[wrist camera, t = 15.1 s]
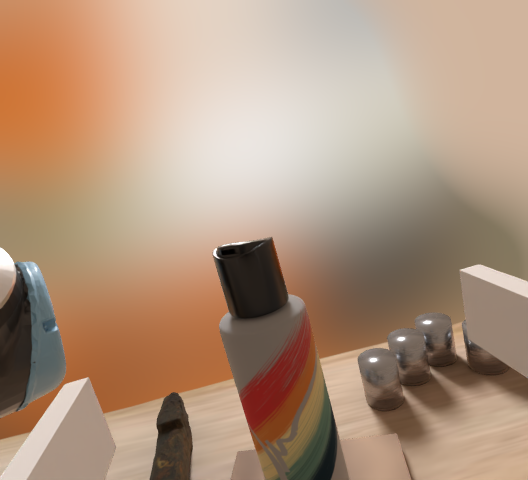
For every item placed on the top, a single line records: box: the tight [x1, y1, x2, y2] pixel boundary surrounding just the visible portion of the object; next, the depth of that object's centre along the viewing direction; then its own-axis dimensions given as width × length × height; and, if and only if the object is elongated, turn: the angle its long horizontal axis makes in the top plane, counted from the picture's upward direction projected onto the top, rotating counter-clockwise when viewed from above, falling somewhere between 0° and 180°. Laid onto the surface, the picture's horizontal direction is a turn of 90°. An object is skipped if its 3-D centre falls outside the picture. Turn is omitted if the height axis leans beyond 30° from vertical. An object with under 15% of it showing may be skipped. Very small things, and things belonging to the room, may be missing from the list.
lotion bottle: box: [213, 237, 350, 480], centre depth 24 cm, size 6×6×20 cm
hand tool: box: [150, 392, 193, 480], centre depth 31 cm, size 19×4×5 cm, turn 7°
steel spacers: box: [358, 313, 509, 411], centre depth 36 cm, size 18×12×4 cm, turn 82°
